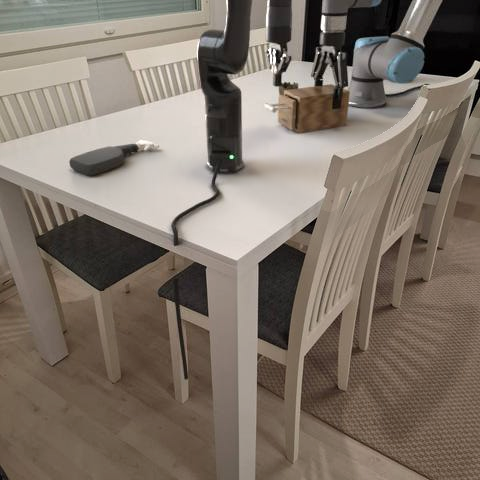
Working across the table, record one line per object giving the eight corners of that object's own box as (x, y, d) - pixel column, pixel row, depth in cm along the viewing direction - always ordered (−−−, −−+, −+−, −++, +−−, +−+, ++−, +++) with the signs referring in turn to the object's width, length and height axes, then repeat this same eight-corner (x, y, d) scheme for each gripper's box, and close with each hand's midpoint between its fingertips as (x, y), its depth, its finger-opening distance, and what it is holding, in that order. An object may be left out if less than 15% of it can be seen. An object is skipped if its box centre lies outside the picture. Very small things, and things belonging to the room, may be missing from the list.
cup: (274, 107, 166) (275, 85, 162) (282, 102, 172) (282, 80, 168) (293, 109, 163) (294, 87, 159) (300, 104, 169) (301, 82, 165)
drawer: (274, 133, 139) (275, 103, 134) (261, 124, 146) (261, 96, 141) (336, 123, 146) (339, 95, 142) (321, 115, 154) (323, 88, 149)
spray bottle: (67, 168, 120) (139, 144, 136) (91, 178, 114) (163, 151, 130) (65, 157, 118) (137, 134, 134) (89, 167, 112) (162, 142, 128)
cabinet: (298, 133, 142) (300, 97, 136) (282, 123, 150) (283, 90, 144) (346, 125, 148) (349, 91, 142) (328, 116, 156) (331, 84, 150)
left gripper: (301, 25, 124) (298, 89, 133) (279, 20, 134) (278, 80, 143) (277, 26, 121) (276, 92, 130) (257, 22, 131) (256, 82, 141)
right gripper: (366, 34, 127) (357, 111, 139) (322, 26, 146) (317, 95, 157) (344, 36, 125) (336, 114, 137) (302, 27, 143) (299, 97, 155)
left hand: (277, 85), depth 137 cm, fingers closed
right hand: (326, 104), depth 147 cm, fingers closed on cabinet, 11 cm apart
